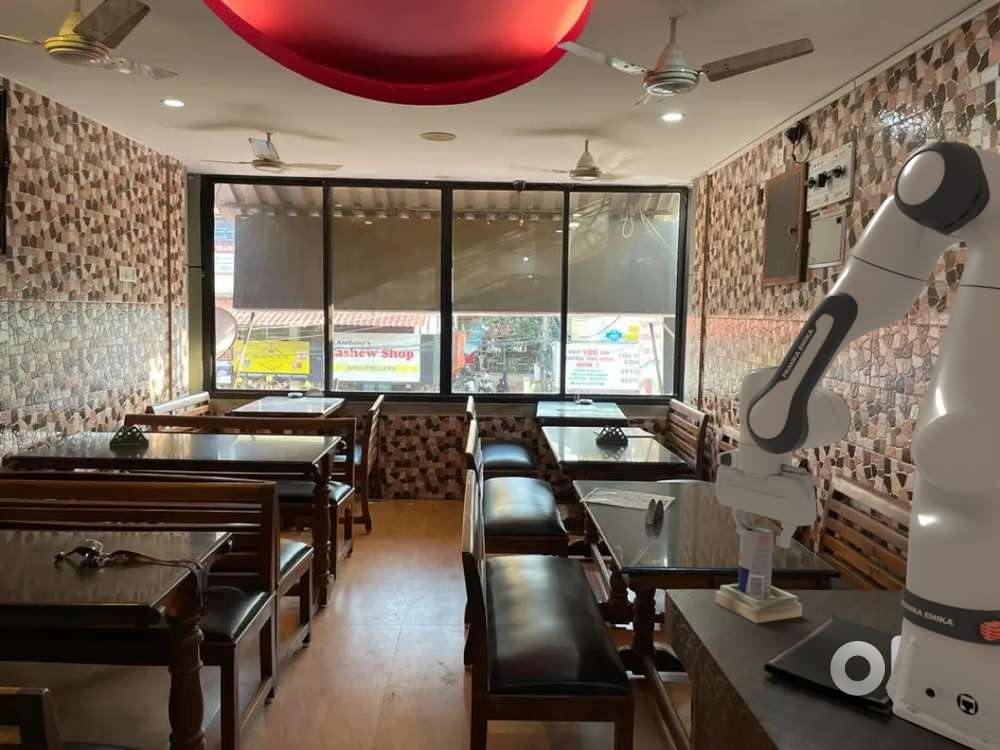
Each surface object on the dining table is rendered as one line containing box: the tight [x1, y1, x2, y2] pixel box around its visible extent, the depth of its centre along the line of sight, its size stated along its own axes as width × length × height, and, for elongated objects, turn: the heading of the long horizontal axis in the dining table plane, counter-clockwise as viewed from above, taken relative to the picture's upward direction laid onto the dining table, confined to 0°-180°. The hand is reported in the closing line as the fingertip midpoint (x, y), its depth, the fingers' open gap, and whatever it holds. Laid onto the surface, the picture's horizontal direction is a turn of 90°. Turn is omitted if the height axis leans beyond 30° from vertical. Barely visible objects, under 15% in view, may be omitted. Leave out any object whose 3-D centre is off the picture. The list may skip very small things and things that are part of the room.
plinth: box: [715, 582, 803, 624], centre depth 124 cm, size 10×10×3 cm
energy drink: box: [737, 525, 774, 600], centre depth 124 cm, size 5×5×12 cm
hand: (762, 540), depth 123 cm, fingers open, 8 cm apart
